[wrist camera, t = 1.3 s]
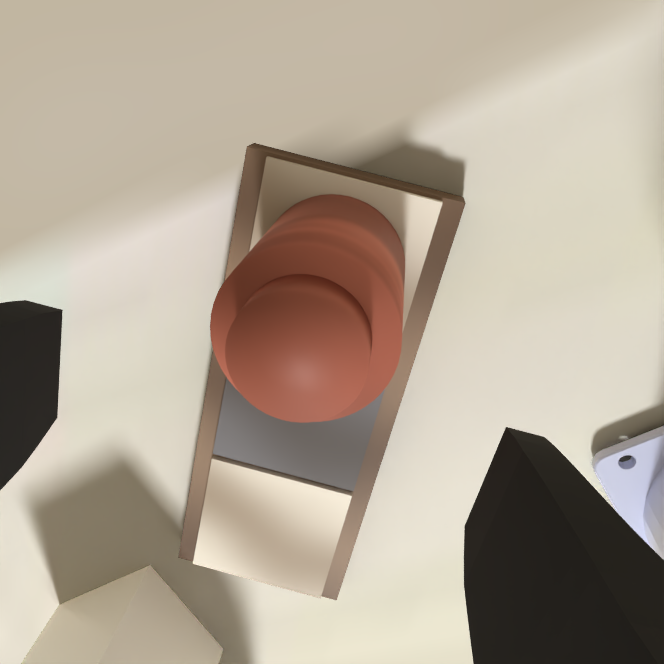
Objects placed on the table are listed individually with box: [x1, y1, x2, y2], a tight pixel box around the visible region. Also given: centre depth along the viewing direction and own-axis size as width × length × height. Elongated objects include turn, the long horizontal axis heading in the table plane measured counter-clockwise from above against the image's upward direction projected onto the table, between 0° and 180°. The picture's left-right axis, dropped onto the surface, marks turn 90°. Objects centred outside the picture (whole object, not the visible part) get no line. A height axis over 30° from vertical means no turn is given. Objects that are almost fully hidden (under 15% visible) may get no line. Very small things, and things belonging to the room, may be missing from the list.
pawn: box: [210, 194, 405, 423], centre depth 15 cm, size 4×4×6 cm
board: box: [178, 143, 465, 600], centre depth 20 cm, size 15×6×1 cm, turn 167°
